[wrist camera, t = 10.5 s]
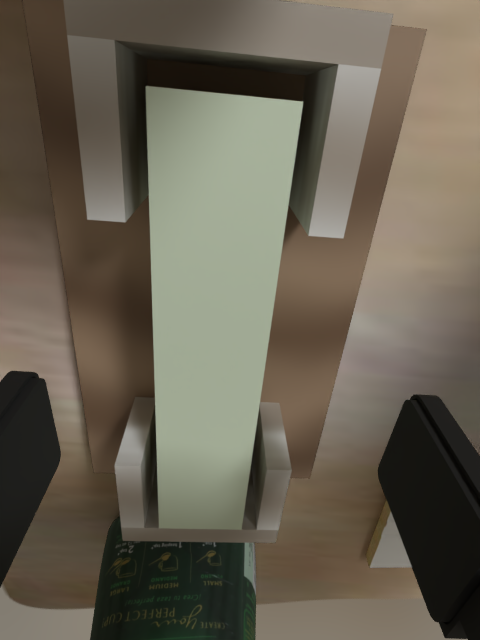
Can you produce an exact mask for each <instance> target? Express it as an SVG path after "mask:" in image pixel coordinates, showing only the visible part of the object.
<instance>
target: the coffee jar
mask: <svg viewBox="0 0 480 640" xmlns="http://www.w3.org/2000/svg"><path fill="white" fill-rule="evenodd" d="M255 621H256V556H255V543H236V542H168V541H123V539H122V530H121V521H120V516H119V517H118V518H117V519H116V520H115V521H114V522H113V523H112V525H111V527H110V528H109V531H108V535H107V539H106V544H105V549H104V553H103V558H102V564H101V570H100V576H99V583H98V589H97V596H96V603H95V610H94V617H93V624H92V631H91V638H90V640H255V625H256V623H255Z"/></svg>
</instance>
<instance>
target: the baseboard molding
mask: <svg viewBox="0 0 480 640" xmlns="http://www.w3.org/2000/svg"><path fill="white" fill-rule="evenodd" d="M366 558H367V562H368V565H369V568H398V567H412V566H411V563H410V561H409V558H408V555H407V553H406V550H405V547H404V545H403V542H402V539H401V537H400V534H399V532H398V529H397V526H396V524H395V521H394V518H393V516H392V513H391V510H390V508H389V505H388V502H387V500H386V502H385V504H384V507H383V510H382V512H381V515H380V518H379V520H378V523H377V526H376V528H375V531H374V534H373V536H372V539H371V542H370V545H369V547H368V550H367V553H366Z"/></svg>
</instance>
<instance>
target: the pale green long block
mask: <svg viewBox="0 0 480 640" xmlns="http://www.w3.org/2000/svg"><path fill="white" fill-rule="evenodd" d="M302 108H303V102H302V101H292V100H282V99H272V98H262V97H252V96H242V95H232V94H222V93H212V92H202V91H192V90H182V89H172V88H162V87H152V86H146V116H147V149H148V182H149V215H150V248H151V281H152V314H153V348H154V381H155V414H156V447H157V480H158V513H159V528H171V529H229V530H242V523H243V516H244V509H245V502H246V495H247V488H248V481H249V474H250V468H251V461H252V454H253V447H254V440H255V433H256V426H257V419H258V412H259V405H260V398H261V391H262V385H263V378H264V371H265V364H266V357H267V350H268V343H269V336H270V329H271V322H272V315H273V308H274V301H275V295H276V288H277V281H278V274H279V267H280V260H281V253H282V246H283V239H284V232H285V225H286V218H287V212H288V205H289V198H290V191H291V184H292V177H293V170H294V163H295V156H296V149H297V142H298V135H299V129H300V122H301V115H302Z"/></svg>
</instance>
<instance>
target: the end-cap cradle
mask: <svg viewBox="0 0 480 640" xmlns="http://www.w3.org/2000/svg"><path fill="white" fill-rule="evenodd" d="M22 1H23V8H24V14H25V21H26V28H27V34H28V41H29V47H30V54H31V61H32V67H33V74H34V81H35V87H36V94H37V100H38V107H39V114H40V120H41V127H42V134H43V140H44V147H45V154H46V160H47V167H48V173H49V180H50V187H51V193H52V200H53V207H54V213H55V220H56V227H57V233H58V240H59V246H60V253H61V260H62V266H63V273H64V280H65V286H66V293H67V299H68V306H69V313H70V319H71V326H72V333H73V339H74V346H75V353H76V359H77V366H78V372H79V379H80V386H81V392H82V399H83V406H84V412H85V419H86V425H87V432H88V439H89V445H90V452H91V459H92V465H93V472H94V473H115V475H116V484H117V493H118V502H119V511H120V521H121V530H122V539H123V541H168V542H236V543H276V539H277V534H278V530H279V525H280V521H281V516H282V512H283V508H284V503H285V499H286V494H287V490H288V485H289V481H290V478H308V479H310V476H311V472H312V468H313V464H314V460H315V457H316V453H317V449H318V445H319V441H320V437H321V434H322V430H323V426H324V422H325V418H326V414H327V411H328V407H329V403H330V399H331V395H332V391H333V388H334V384H335V380H336V376H337V372H338V368H339V365H340V361H341V357H342V353H343V349H344V345H345V341H346V338H347V334H348V330H349V326H350V322H351V318H352V315H353V311H354V307H355V303H356V299H357V295H358V292H359V288H360V284H361V280H362V276H363V272H364V269H365V265H366V261H367V257H368V253H369V249H370V246H371V242H372V238H373V234H374V230H375V226H376V223H377V219H378V215H379V211H380V207H381V203H382V200H383V196H384V192H385V188H386V184H387V180H388V176H389V173H390V169H391V165H392V161H393V157H394V153H395V150H396V146H397V142H398V138H399V134H400V130H401V127H402V123H403V119H404V115H405V111H406V107H407V104H408V100H409V96H410V92H411V88H412V84H413V81H414V77H415V73H416V69H417V65H418V61H419V58H420V54H421V50H422V46H423V42H424V38H425V35H426V31H427V29H421V28H412V27H404V26H395V25H391V23H392V18H393V14H391V13H382V12H374V11H365V10H357V9H349V8H340V7H332V6H323V5H315V4H306V3H298V2H290V1H281V0H22ZM146 86H152V87H162V88H172V89H182V90H192V91H202V92H212V93H222V94H232V95H242V96H252V97H262V98H272V99H282V100H292V101H302V102H303V108H302V115H301V122H300V129H299V135H298V142H297V149H296V156H295V163H294V170H293V177H292V184H291V191H290V198H289V205H288V212H287V218H286V225H285V232H284V239H283V246H282V253H281V260H280V267H279V274H278V281H277V288H276V295H275V301H274V308H273V315H272V322H271V329H270V336H269V343H268V350H267V357H266V364H265V371H264V378H263V385H262V391H261V398H260V405H259V412H258V419H257V426H256V433H255V440H254V447H253V454H252V461H251V468H250V474H249V481H248V488H247V495H246V502H245V509H244V516H243V523H242V530H229V529H171V528H159V513H158V480H157V447H156V414H155V381H154V348H153V314H152V281H151V248H150V215H149V182H148V149H147V116H146Z"/></svg>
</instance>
